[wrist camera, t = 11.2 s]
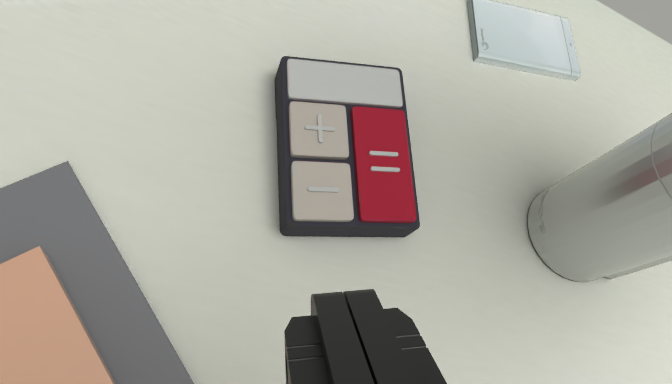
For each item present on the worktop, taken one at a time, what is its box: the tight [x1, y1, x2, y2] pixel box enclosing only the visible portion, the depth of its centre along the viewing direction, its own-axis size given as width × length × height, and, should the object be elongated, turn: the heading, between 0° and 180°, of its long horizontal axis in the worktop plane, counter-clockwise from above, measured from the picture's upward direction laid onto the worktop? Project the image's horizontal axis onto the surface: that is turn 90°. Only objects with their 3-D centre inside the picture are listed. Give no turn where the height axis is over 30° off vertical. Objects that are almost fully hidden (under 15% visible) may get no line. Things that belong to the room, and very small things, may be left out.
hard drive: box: [467, 0, 580, 81], centre depth 56 cm, size 2×8×12 cm
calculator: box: [275, 56, 420, 237], centre depth 44 cm, size 11×4×15 cm
